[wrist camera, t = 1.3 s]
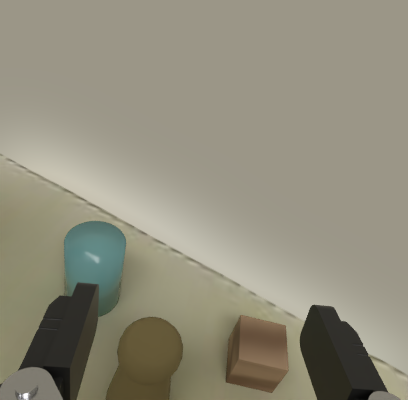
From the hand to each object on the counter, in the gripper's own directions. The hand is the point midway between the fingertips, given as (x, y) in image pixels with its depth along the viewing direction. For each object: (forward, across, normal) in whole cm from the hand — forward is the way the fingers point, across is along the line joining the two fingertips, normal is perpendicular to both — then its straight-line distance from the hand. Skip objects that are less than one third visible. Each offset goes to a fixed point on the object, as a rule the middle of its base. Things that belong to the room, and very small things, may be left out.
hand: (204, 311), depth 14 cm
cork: (+13, +2, +24) cm, 27 cm away
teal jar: (+24, +9, +21) cm, 33 cm away
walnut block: (+18, -9, +24) cm, 31 cm away
